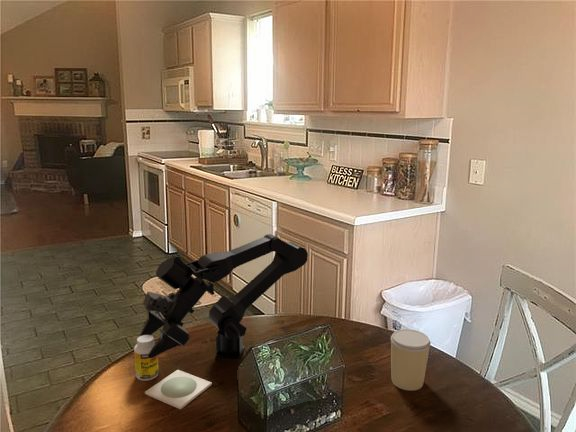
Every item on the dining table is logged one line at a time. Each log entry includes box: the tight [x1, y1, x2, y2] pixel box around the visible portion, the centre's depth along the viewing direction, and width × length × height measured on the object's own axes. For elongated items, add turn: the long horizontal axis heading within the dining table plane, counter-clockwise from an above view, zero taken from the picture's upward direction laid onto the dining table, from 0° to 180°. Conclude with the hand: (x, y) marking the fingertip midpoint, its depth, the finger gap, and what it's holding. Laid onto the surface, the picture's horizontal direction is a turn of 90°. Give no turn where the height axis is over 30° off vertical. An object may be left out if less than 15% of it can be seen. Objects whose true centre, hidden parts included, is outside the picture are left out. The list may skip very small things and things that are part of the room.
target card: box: [144, 369, 213, 410], centre depth 113 cm, size 11×11×1 cm
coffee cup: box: [390, 328, 431, 391], centre depth 116 cm, size 9×9×12 cm
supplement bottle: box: [133, 334, 160, 382], centre depth 117 cm, size 6×6×10 cm
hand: (144, 348), depth 116 cm, fingers open, 9 cm apart
